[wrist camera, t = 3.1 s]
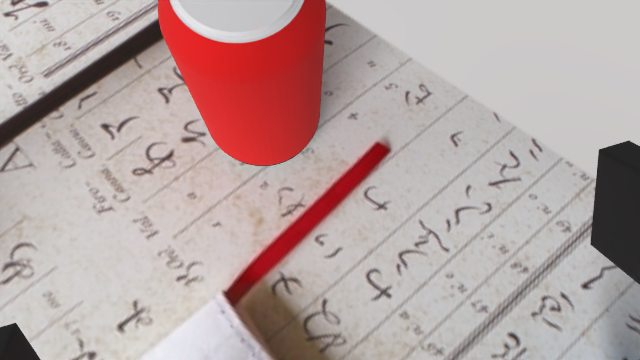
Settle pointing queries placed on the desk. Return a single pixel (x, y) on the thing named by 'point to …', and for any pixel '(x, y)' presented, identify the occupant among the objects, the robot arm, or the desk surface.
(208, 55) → the beverage can
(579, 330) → the desk surface
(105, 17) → the desk surface
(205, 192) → the desk surface
